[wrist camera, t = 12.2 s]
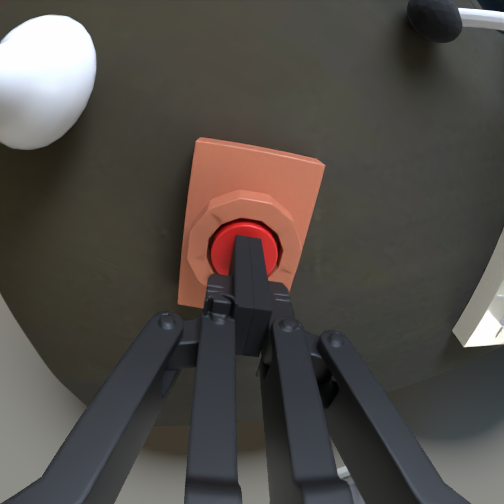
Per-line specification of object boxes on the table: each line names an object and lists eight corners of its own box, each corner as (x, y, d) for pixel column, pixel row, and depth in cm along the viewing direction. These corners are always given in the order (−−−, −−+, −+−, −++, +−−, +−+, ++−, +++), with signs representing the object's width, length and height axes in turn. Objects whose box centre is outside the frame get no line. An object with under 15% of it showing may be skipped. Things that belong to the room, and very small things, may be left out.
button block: (277, 301, 25) (283, 334, 22) (181, 288, 24) (173, 319, 21) (317, 159, 20) (334, 171, 16) (200, 136, 19) (190, 144, 15)
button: (267, 274, 21) (269, 288, 19) (209, 265, 20) (207, 279, 19) (281, 220, 19) (284, 231, 17) (217, 209, 19) (215, 220, 17)
